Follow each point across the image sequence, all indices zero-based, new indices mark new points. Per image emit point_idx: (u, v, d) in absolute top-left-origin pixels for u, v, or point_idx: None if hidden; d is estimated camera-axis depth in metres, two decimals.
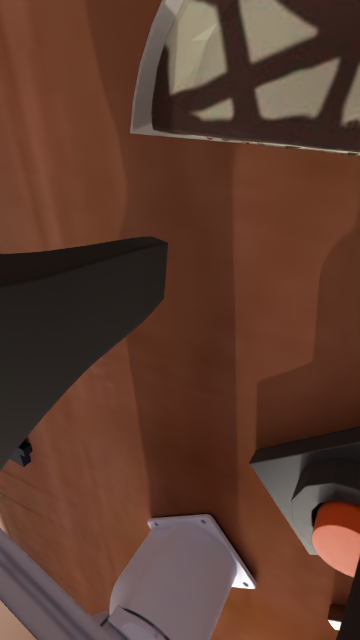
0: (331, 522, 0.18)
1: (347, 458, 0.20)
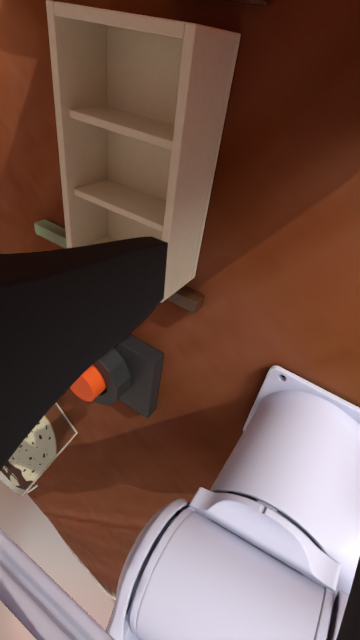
0: None
1: None
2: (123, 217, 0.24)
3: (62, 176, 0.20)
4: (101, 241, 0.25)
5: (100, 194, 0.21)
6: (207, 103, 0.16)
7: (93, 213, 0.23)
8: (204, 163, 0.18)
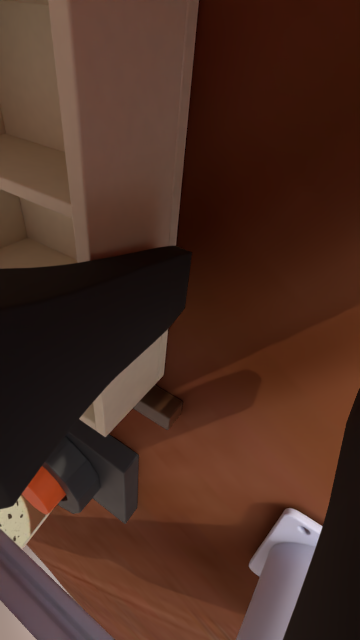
0: None
1: None
2: None
3: None
4: None
5: None
6: (139, 133, 0.08)
7: None
8: (152, 232, 0.10)
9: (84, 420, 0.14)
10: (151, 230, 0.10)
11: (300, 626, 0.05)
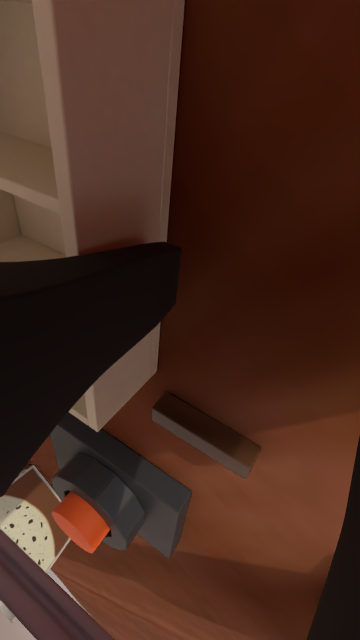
0: None
1: None
2: None
3: None
4: None
5: None
6: (125, 130, 0.08)
7: None
8: (141, 228, 0.10)
9: (77, 415, 0.14)
10: (140, 226, 0.10)
11: None
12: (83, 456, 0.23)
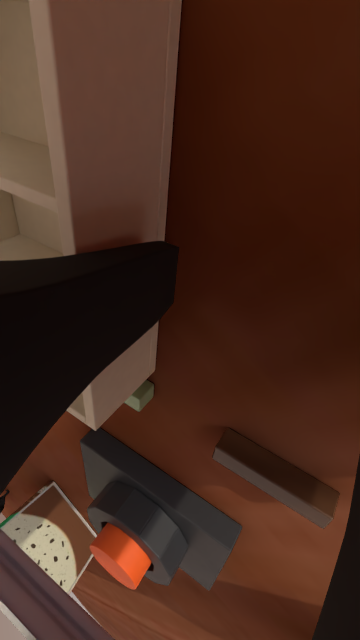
0: None
1: None
2: None
3: None
4: None
5: None
6: (123, 129, 0.08)
7: None
8: (139, 227, 0.10)
9: (75, 414, 0.14)
10: (138, 225, 0.10)
11: None
12: (122, 485, 0.22)
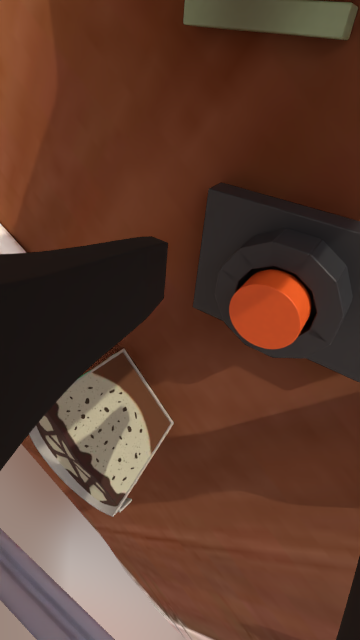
0: None
1: None
2: None
3: None
4: None
5: None
6: None
7: None
8: None
9: None
10: None
11: None
12: (266, 232, 0.18)
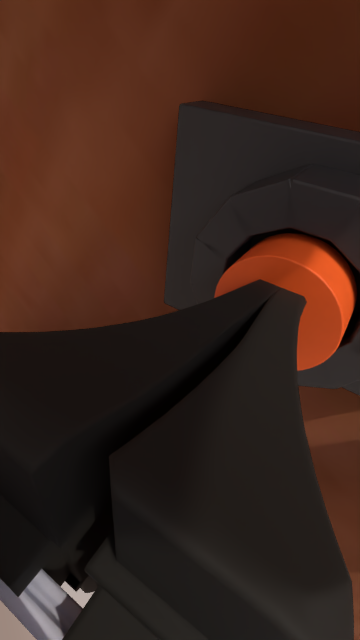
0: None
1: None
2: None
3: None
4: None
5: None
6: None
7: None
8: None
9: None
10: None
11: None
12: (274, 175, 0.10)
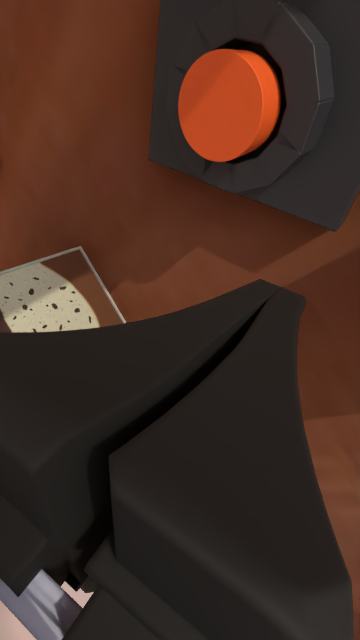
0: None
1: None
2: None
3: None
4: None
5: None
6: None
7: None
8: None
9: None
10: None
11: None
12: None
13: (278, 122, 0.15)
